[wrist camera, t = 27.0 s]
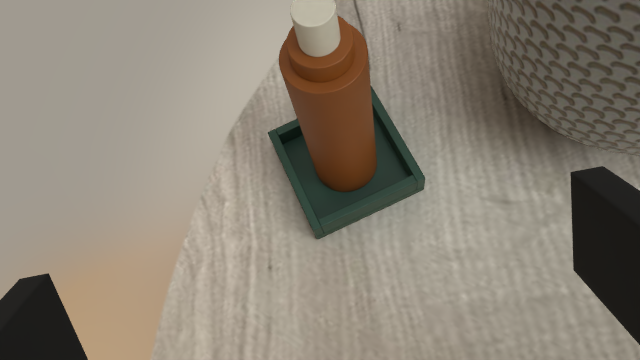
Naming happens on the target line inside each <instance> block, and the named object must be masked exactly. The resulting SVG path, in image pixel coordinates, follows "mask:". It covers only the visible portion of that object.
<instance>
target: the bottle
mask: <svg viewBox="0 0 640 360" xmlns="http://www.w3.org/2000/svg"><path fill="white" fill-rule="evenodd" d="M290 14H291V17H292V21H293V25H294V26H293V27H292V28H291V30H290V32H289V34H288V36H287V39H286V40H285V41H284V43H283V45H282V48H281V50H280V54H279V66H280V70H281V73H282V76H283V78H284V81H285V84H286V87H287V90H288V93H289V96H290V98H291V101H292V104H293V107H294V110H295V113H296V116H297V119H298V121H299V124H300V127H301V130H302V133H303V136H304V139H305V141H306V144H307V147H308V150H309V153H310V156H311V159H312V161H313V164H314V167H315V170H316V173H317V175H318V177H319V179H320V180H321V182H322V183H323V184H324V185H325V186H327V187H328V188H330V189H332V190H335V191H339V192H351V191H355V190H358V189H360V188H362V187H363V186H365V185H366V184H367V183H368V182H369V181H370V180H371V179H372V177H373V176H374V174H375V171H376V167H377V157H376V145H375V133H374V121H373V109H372V97H371V85H370V73H369V61H368V50H367V45H366V42H365V40H364V38H363V36H362V35H361V33H360V32H359V31H358V30H357V29H356V28H354V27H353V26H351V25H350V24H348V23H347V22H346V21H345V20H344V19H343V18H341V17H339V16H337V10H336V4H335V1H334V0H294V1H293V3H292V5H291V8H290Z"/></svg>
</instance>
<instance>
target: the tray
mask: <svg viewBox="0 0 640 360" xmlns="http://www.w3.org/2000/svg"><path fill="white" fill-rule="evenodd" d="M371 97H372V109H373V121H374V133H375V145H376V157H377V167H376V171H375V174H374V176H373V177H372V179H371V180H370V181H369V182H368V183H367V184H366V185H365V186H363V187H362V188H360V189H358V190H355V191H351V192H339V191H335V190H332V189H330V188H328V187H327V186H325V185H324V184H323V183H322V182H321V180H320V179H319V177H318V175H317V173H316V170H315V167H314V164H313V161H312V159H311V156H310V153H309V150H308V147H307V144H306V141H305V139H304V136H303V133H302V130H301V127H300V124H299V121H298V119H296V120H294V121H292V122H289V123H287V124H285V125H283V126H281V127H279V128H276V130H275V129H274V130H272V131H270V132H268V135H269V137H270V139H271V141H272V143H273V145H274V148H275V150H276V152H277V154H278V156H279V158H280V161H281V163H282V165H283V167H284V169H285V171H286V174H287V176H288V178H289V180H290V182H291V184H292V187H293V189H294V191H295V193H296V195H297V197H298V199H299V202H300V204H301V206H302V208H303V210H304V212H305V215H306V217H307V219H308V221H309V223H310V225H311V228H312V230H313V232H314V234H315V236H316V238H317V239H320V238H322V237H324V236H326V235H328V234H330V233H332V232H334V231H336V230H339V229H341V228H343V227H345V226H347V225H349V224H351V223H353V222H356V221H358V220H360V219H362V218H364V217H366V216H368V215H370V214H373V213H375V212H377V211H379V210H381V209H383V208H385V207H387V206H390V205H392V204H394V203H396V202H398V201H400V200H402V199H404V198H407V197H409V196H411V195H413V194H415V193H417V192H419V191H421V190H423V189H424V183H425V177H424V175H423V173H422V171H421V170H420V168H419V166H418V165H417V163H416V161H415V160H414V158H413V156H412V154H411V153H410V151H409V149H408V148H407V146H406V144H405V143H404V141H403V139H402V137H401V136H400V134H399V132H398V131H397V129H396V127H395V126H394V124H393V122H392V120H391V119H390V117H389V115H388V114H387V112H386V110H385V109H384V107H383V105H382V103H381V102H380V100H379V98H378V97H377V95H376V93H375V92H374V90H373V88H372V86H371Z"/></svg>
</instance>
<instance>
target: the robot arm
mask: <svg viewBox="0 0 640 360" xmlns="http://www.w3.org/2000/svg"><path fill="white" fill-rule="evenodd" d="M571 199H572V232H573V265H574V271H575V272H576V273H577V274H578V275H579V277H580V278H581V279H582V280H583V281H584V282H585V283H586V284H587V286H588V287H589V288H590V289H591V290H592V291H593V292H594V294H595V295H596V296H597V297H598V298H599V299H600V300H601V302H602V303H603V304H604V305H605V306H606V307H607V308H608V309H609V311H610V312H611V313H612V314H613V315H614V316H615V317H616V319H617V320H618V321H619V322H620V323H621V324H622V325H623V326H624V328H625V329H626V330H627V331H628V332H629V333H630V334H631V336H632V337H633V338H634V339H635V340H636V341H637V342H638V344H639V345H640V191H639V190H638V189H636V188H635V187H633V186H632V185H630V184H629V183H627V182H626V181H624V180H623V179H621V178H620V177H618V176H617V175H615V174H614V173H612V172H611V171H609V170H608V169H606V168H605V167H603V166H601V167H596V168H591V169H585V170H580V171H575V172H571ZM0 360H88V359H87V356H86V354H85V352H84V350H83V348H82V345H81V343H80V341H79V339H78V337H77V335H76V332H75V330H74V328H73V326H72V324H71V321H70V319H69V317H68V315H67V313H66V310H65V308H64V306H63V304H62V302H61V300H60V298H59V295H58V293H57V291H56V289H55V286H54V284H53V282H52V280H51V278H50V275H49V274H43V275H38V276H33V277H28V278H23V279H19V280H18V282H17V283H16V284H15V285H14V286H13V287H12V288H11V289H10V290H9V291H8V292H7V293H6V295H5V296H4V297H3V298H2V299H1V300H0Z"/></svg>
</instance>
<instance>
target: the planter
mask: <svg viewBox="0 0 640 360" xmlns="http://www.w3.org/2000/svg"><path fill="white" fill-rule="evenodd" d="M488 14H489V28H490V38H491V43H492V47H493V51H494V54H495V58H496V61H497V64H498V67H499V69H500V71H501V73H502V75H503V77H504V79H505V81H506V83H507V85H508V87H509V88H510V89H511V91H512V92H513V93H514V95H515V96H516V98H517V99H518V100H519V101H520V102H521V103H522V104H523V105H524V106H525V107H526V108H527V109H528V110H529V111H530V112H531V113H532V114H533V115H534V116H535V117H536V118H538V119H539V120H540V121H542V122H543V123H544V124H546V125H547V126H549V127H550V128H551V129H553V130H555V131H557V132H559V133H560V134H562V135H564V136H566V137H568V138H570V139H572V140H575V141H577V142H580V143H582V144H585V145H587V146H590V147H594V148H598V149H602V150H606V151H610V152H614V153H622V154H631V155H640V0H488Z"/></svg>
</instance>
